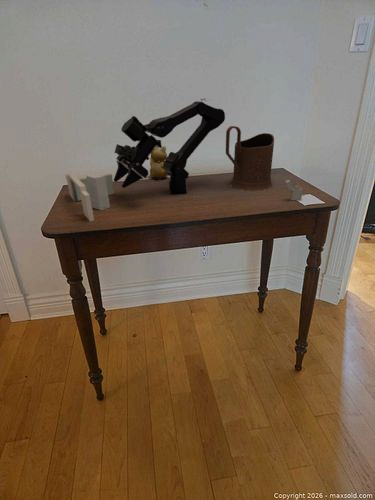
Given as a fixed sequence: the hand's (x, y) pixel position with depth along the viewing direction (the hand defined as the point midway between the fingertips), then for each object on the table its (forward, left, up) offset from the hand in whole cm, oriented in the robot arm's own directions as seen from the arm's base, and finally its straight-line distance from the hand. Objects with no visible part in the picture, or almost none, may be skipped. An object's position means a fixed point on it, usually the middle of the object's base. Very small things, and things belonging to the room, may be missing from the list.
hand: (118, 184), depth 115 cm
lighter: (-65, +6, -8) cm, 65 cm away
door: (+11, -9, -7) cm, 16 cm away
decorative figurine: (-15, -33, -8) cm, 37 cm away
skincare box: (+7, +3, -8) cm, 11 cm away
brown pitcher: (-53, -15, -8) cm, 55 cm away
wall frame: (+15, +1, -8) cm, 17 cm away
